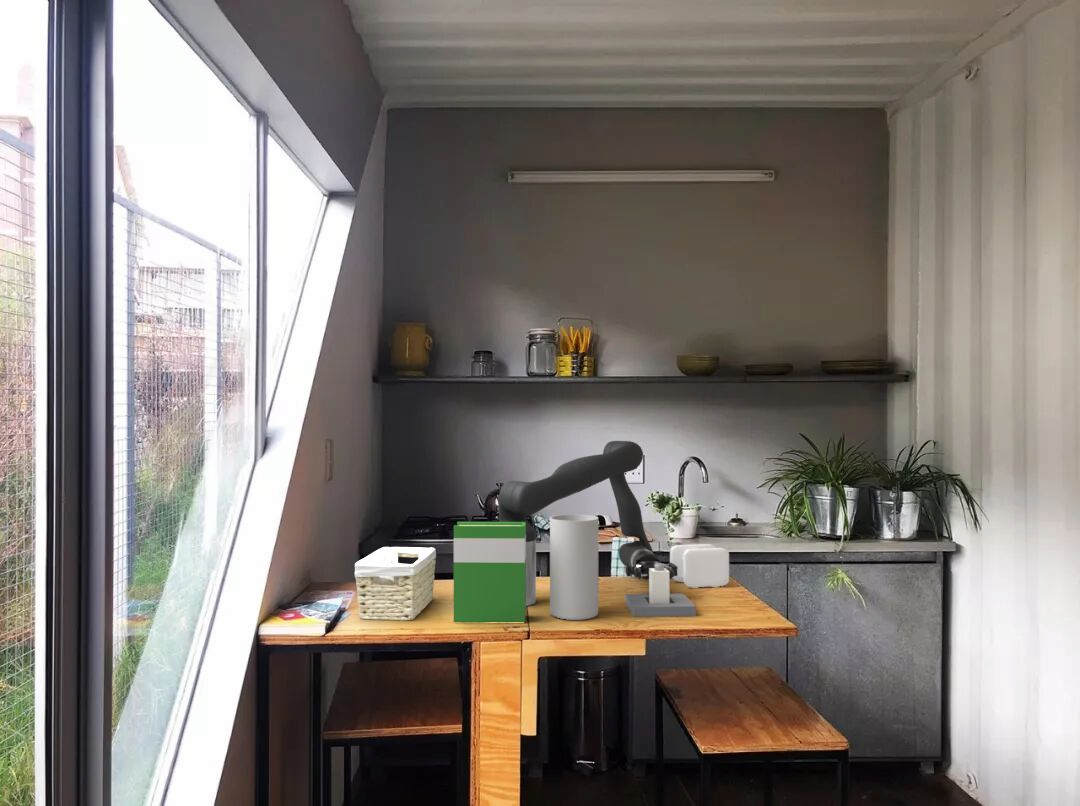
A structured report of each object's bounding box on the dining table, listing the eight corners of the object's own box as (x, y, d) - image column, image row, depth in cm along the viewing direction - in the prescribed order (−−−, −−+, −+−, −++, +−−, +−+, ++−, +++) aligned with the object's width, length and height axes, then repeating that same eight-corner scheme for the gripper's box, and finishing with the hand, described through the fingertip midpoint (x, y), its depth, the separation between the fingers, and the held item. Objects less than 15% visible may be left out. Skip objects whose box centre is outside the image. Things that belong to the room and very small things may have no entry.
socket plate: (633, 616, 194) (633, 607, 195) (625, 603, 208) (625, 594, 208) (695, 616, 195) (695, 606, 195) (683, 602, 209) (683, 593, 209)
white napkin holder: (682, 589, 225) (682, 550, 225) (669, 582, 235) (669, 544, 235) (729, 587, 228) (729, 548, 228) (714, 579, 238) (714, 542, 239)
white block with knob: (652, 611, 199) (652, 566, 200) (649, 607, 204) (649, 562, 204) (669, 611, 200) (669, 565, 200) (665, 607, 204) (665, 562, 204)
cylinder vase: (544, 619, 192) (544, 520, 193) (556, 607, 204) (556, 513, 205) (593, 622, 189) (593, 521, 189) (602, 610, 201) (602, 515, 202)
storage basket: (414, 623, 189) (414, 563, 189) (351, 621, 191) (351, 562, 191) (438, 600, 213) (438, 547, 213) (381, 598, 215) (381, 545, 215)
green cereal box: (453, 622, 189) (453, 526, 189) (457, 615, 196) (457, 521, 197) (524, 623, 189) (524, 526, 189) (525, 615, 196) (525, 522, 196)
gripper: (620, 550, 223) (629, 561, 207) (669, 550, 224) (681, 561, 207) (620, 576, 223) (629, 589, 207) (669, 575, 223) (681, 588, 207)
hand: (655, 575), depth 207 cm, fingers open, 8 cm apart
